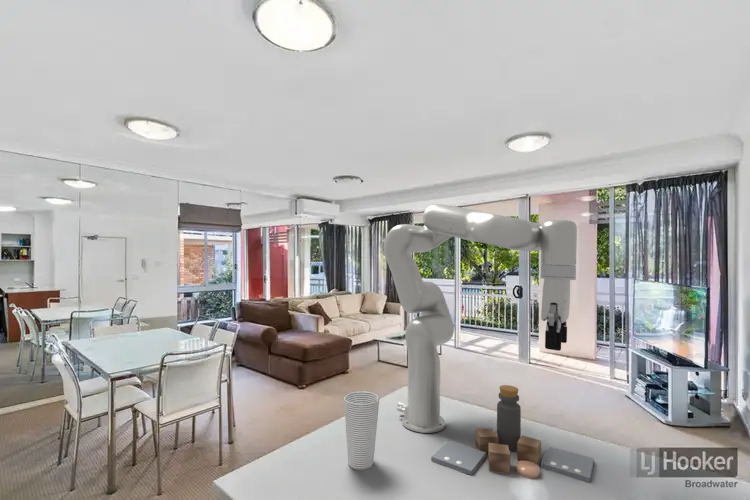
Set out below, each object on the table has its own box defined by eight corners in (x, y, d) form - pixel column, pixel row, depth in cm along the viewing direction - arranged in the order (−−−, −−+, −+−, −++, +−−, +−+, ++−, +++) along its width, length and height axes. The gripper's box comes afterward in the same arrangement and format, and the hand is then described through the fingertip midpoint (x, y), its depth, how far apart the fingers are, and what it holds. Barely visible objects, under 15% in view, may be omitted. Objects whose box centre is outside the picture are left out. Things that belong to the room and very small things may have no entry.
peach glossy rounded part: (513, 474, 84) (513, 467, 84) (519, 465, 88) (519, 458, 88) (537, 482, 81) (537, 475, 81) (541, 472, 85) (541, 465, 85)
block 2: (489, 471, 84) (489, 451, 85) (488, 461, 89) (488, 442, 89) (509, 474, 83) (509, 454, 83) (508, 464, 88) (508, 445, 88)
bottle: (522, 452, 93) (522, 392, 93) (498, 449, 94) (498, 390, 95) (518, 441, 99) (518, 385, 99) (495, 439, 100) (495, 383, 100)
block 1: (480, 454, 92) (480, 436, 92) (475, 445, 96) (475, 428, 96) (498, 455, 92) (498, 436, 92) (492, 446, 96) (492, 428, 96)
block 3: (517, 461, 89) (517, 442, 89) (521, 453, 93) (521, 435, 93) (537, 467, 87) (537, 447, 87) (541, 459, 90) (541, 440, 90)
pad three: (540, 467, 86) (540, 462, 86) (548, 449, 94) (548, 445, 95) (589, 482, 81) (589, 477, 81) (593, 462, 89) (593, 458, 89)
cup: (361, 450, 93) (362, 388, 93) (386, 463, 87) (387, 397, 87) (335, 462, 87) (336, 396, 87) (359, 478, 81) (360, 406, 81)
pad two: (431, 460, 88) (431, 456, 88) (448, 444, 97) (448, 440, 97) (471, 475, 83) (471, 470, 83) (486, 456, 91) (486, 451, 91)
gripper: (547, 271, 96) (545, 337, 96) (533, 272, 82) (531, 350, 81) (579, 273, 92) (578, 341, 91) (571, 274, 77) (569, 356, 77)
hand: (556, 345), depth 86 cm, fingers open, 9 cm apart
